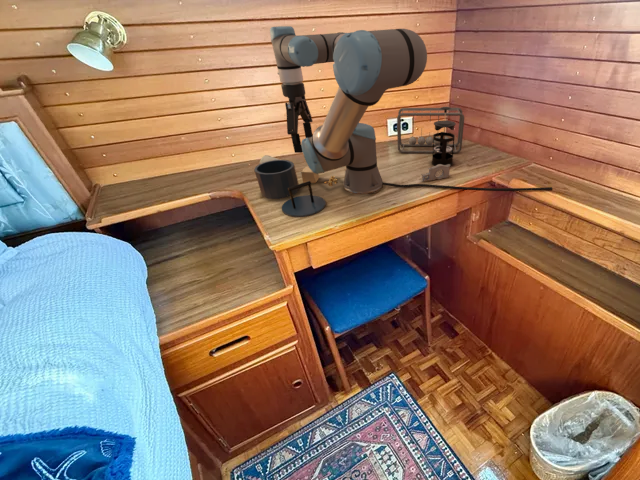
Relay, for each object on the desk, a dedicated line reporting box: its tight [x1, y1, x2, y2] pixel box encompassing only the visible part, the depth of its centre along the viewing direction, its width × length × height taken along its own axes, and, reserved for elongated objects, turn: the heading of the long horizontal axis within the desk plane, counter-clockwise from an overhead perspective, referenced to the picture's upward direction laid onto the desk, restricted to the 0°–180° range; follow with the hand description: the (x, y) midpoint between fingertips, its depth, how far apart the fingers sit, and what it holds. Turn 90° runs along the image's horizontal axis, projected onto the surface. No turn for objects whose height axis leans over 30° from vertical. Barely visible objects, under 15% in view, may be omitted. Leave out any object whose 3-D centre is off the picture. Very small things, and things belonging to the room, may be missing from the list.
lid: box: [281, 181, 327, 218], centre depth 113 cm, size 15×15×9 cm
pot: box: [253, 159, 300, 200], centre depth 123 cm, size 14×14×10 cm
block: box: [300, 166, 320, 184], centre depth 132 cm, size 5×5×5 cm
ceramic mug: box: [258, 154, 281, 165], centre depth 138 cm, size 11×8×8 cm
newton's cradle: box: [396, 107, 465, 154], centre depth 155 cm, size 30×10×18 cm, turn 87°
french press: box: [431, 106, 456, 167], centre depth 139 cm, size 12×9×23 cm
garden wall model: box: [421, 164, 451, 182], centre depth 131 cm, size 12×2×6 cm, turn 110°
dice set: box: [324, 175, 339, 187], centre depth 130 cm, size 5×5×2 cm
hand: (304, 146), depth 124 cm, fingers open, 13 cm apart
